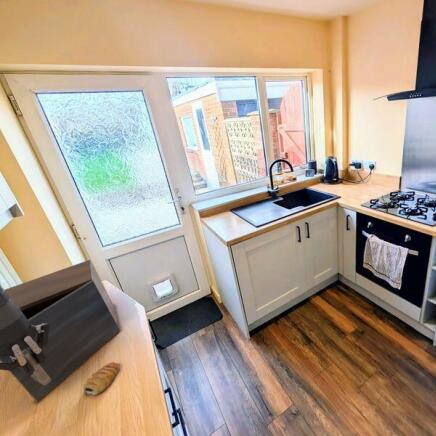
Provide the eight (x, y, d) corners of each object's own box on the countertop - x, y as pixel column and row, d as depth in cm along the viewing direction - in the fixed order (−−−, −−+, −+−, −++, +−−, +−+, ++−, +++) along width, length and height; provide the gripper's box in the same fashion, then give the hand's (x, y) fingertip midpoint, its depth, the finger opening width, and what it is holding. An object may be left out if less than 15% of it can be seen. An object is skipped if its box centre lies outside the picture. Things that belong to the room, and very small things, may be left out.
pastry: (109, 364, 82) (104, 356, 81) (125, 367, 81) (121, 359, 79) (82, 393, 74) (76, 385, 72) (100, 397, 72) (94, 389, 71)
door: (131, 334, 93) (104, 283, 83) (49, 408, 71) (0, 352, 61) (118, 329, 95) (91, 280, 85) (35, 400, 73) (-14, 345, 63)
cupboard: (119, 329, 96) (91, 279, 86) (27, 375, 81) (-18, 322, 71) (114, 305, 109) (89, 259, 99) (34, 341, 94) (-4, 292, 84)
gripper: (24, 298, 67) (55, 342, 74) (-50, 342, 55) (-5, 389, 62) (42, 302, 65) (72, 347, 72) (-31, 348, 53) (14, 396, 60)
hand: (36, 366), depth 67 cm, fingers closed on door, 2 cm apart
